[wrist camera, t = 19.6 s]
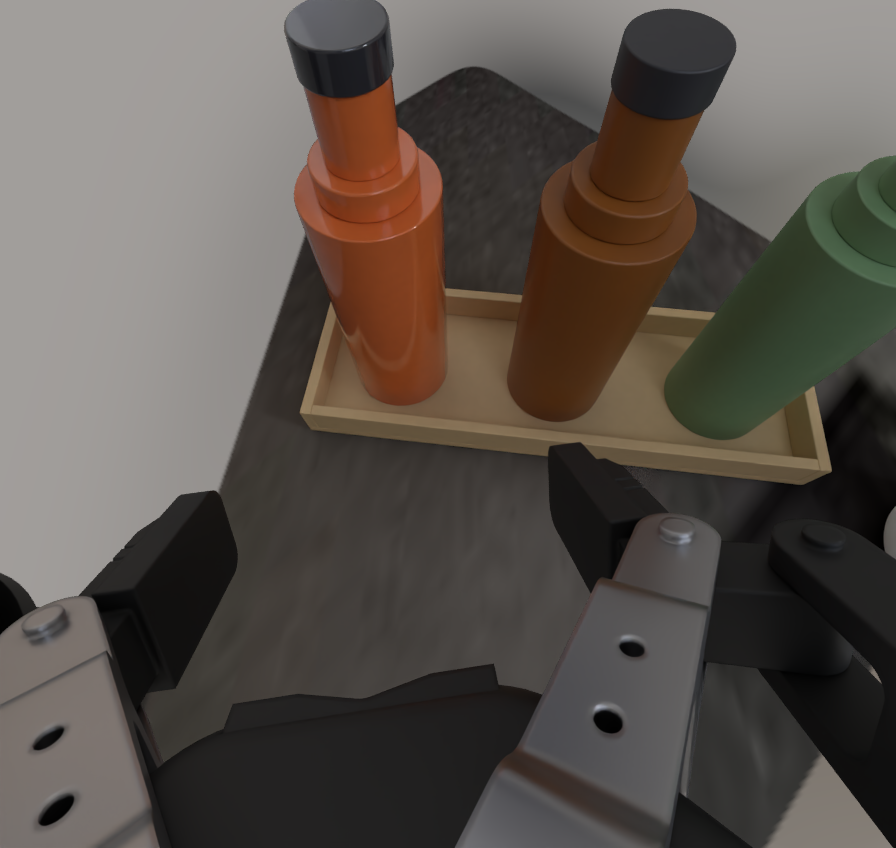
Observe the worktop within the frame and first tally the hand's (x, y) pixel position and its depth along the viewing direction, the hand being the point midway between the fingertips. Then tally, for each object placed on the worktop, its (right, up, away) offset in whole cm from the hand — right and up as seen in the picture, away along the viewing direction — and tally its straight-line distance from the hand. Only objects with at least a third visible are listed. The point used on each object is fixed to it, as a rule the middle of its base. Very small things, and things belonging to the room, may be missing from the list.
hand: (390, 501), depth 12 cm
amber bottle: (+8, +4, +16) cm, 19 cm away
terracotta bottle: (-1, +5, +17) cm, 18 cm away
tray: (+8, +4, +17) cm, 19 cm away
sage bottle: (+17, +3, +16) cm, 23 cm away
